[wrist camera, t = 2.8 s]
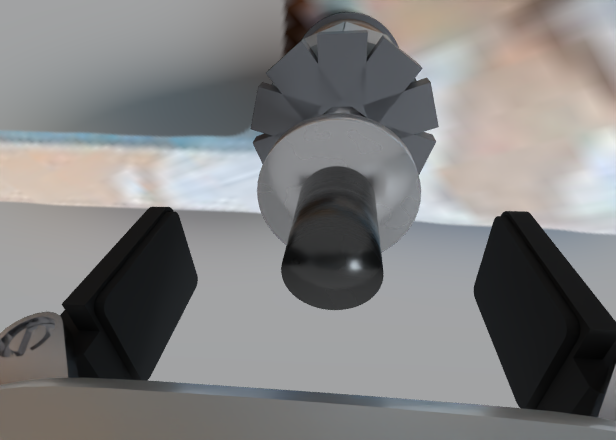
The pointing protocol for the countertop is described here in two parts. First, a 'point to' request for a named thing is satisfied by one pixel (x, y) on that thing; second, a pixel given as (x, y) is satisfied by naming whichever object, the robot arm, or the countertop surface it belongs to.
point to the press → (347, 84)
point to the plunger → (337, 204)
